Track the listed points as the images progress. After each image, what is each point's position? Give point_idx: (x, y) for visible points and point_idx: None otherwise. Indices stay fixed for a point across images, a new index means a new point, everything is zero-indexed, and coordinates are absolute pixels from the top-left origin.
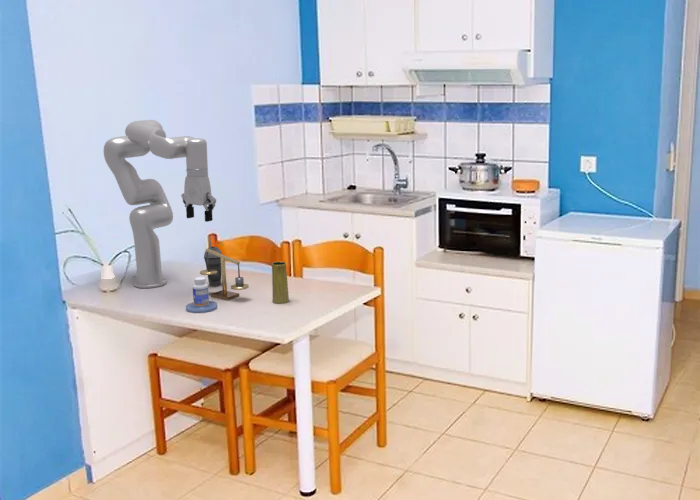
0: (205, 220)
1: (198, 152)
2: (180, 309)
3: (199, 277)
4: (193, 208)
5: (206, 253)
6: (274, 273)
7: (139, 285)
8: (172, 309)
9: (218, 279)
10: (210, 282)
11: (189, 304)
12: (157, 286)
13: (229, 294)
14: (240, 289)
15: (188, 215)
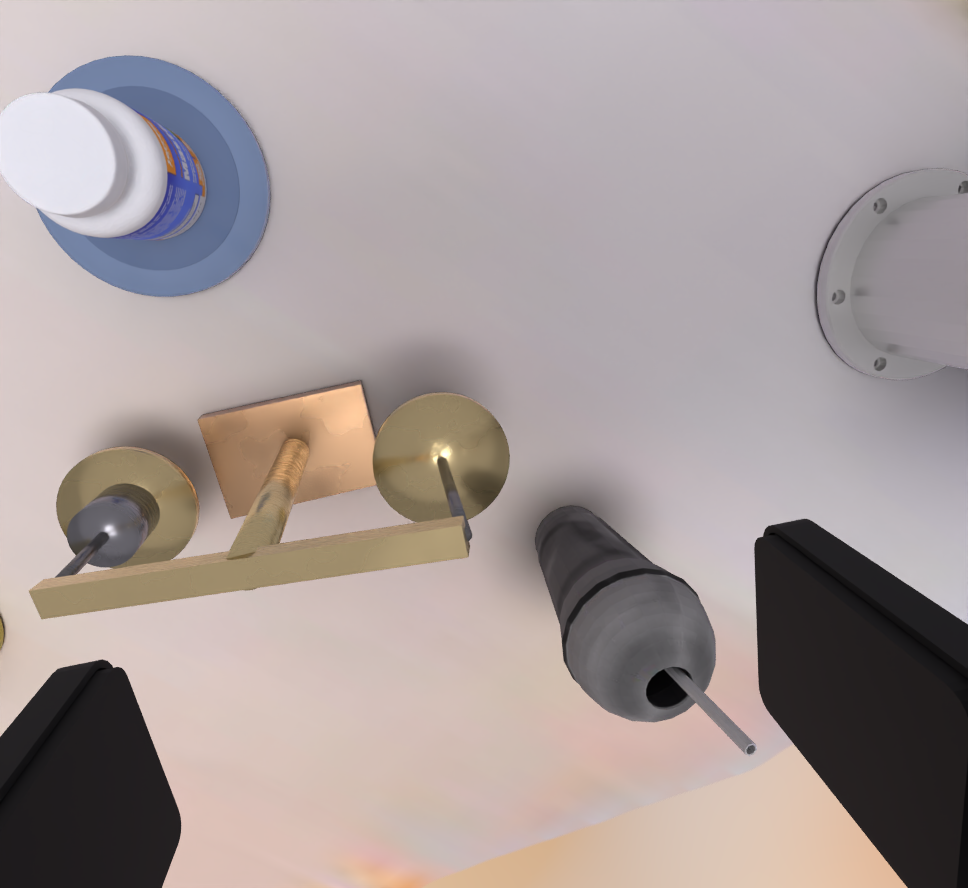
0: (63, 674)
1: None
2: (244, 61)
3: (89, 171)
4: (912, 883)
5: (653, 601)
6: None
7: (908, 174)
8: (286, 19)
9: (540, 560)
10: (569, 514)
11: (228, 129)
12: (820, 270)
13: (254, 462)
14: (66, 478)
15: (795, 578)
